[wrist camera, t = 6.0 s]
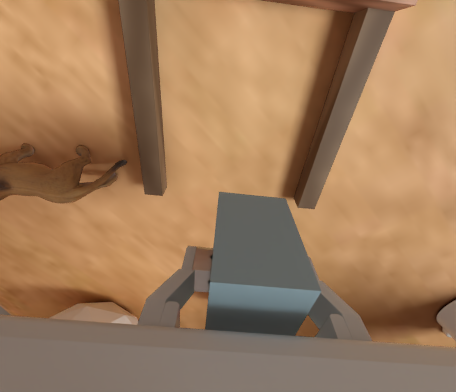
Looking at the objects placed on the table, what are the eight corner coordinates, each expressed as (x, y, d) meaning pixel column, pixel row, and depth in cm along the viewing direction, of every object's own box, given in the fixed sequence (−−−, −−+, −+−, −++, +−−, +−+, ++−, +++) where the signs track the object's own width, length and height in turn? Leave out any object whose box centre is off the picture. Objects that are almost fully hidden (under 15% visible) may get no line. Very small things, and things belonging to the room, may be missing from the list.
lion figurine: (19, 185, 26) (-67, 237, 18) (-11, 144, 23) (-128, 184, 15) (135, 178, 25) (95, 228, 18) (119, 134, 22) (63, 172, 15)
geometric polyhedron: (116, 264, 44) (74, 314, 25) (168, 337, 47) (166, 433, 27) (22, 325, 40) (-119, 443, 20) (84, 402, 42) (12, 572, 23)
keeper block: (285, 198, 13) (321, 291, 7) (265, 264, 16) (280, 359, 11) (219, 191, 12) (210, 282, 7) (212, 259, 16) (202, 354, 11)
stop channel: (398, -37, 15) (446, -65, 12) (309, 199, 27) (320, 219, 23) (119, -80, 14) (85, -123, 11) (150, 185, 26) (138, 204, 22)
